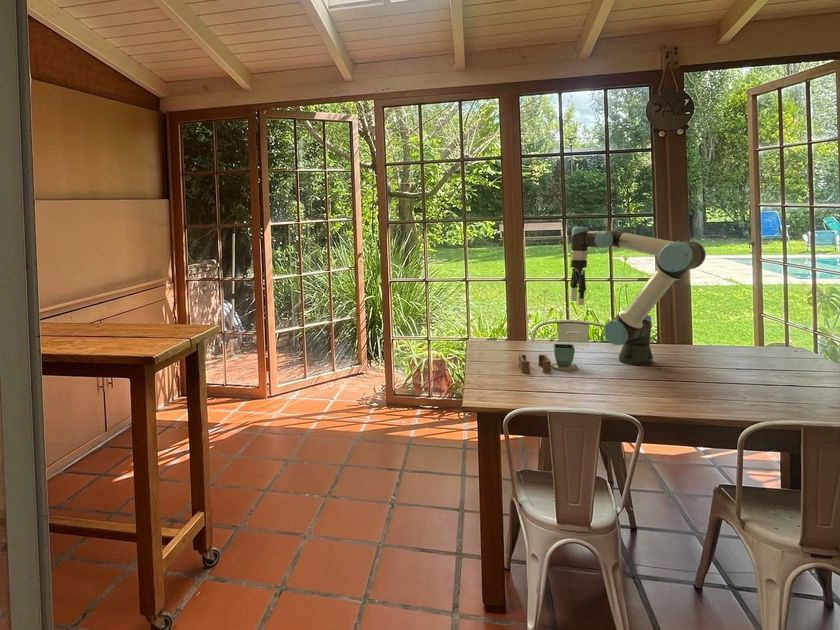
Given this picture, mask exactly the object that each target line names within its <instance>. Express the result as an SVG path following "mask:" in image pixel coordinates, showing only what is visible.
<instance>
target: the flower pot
mask: <svg viewBox="0 0 840 630" xmlns="http://www.w3.org/2000/svg"><path fill="white" fill-rule="evenodd" d="M575 351H576V349H575V346H574V344H572V343H571V344H570V343H567V344H565V343H553V354H554V358H555V363H557V364H558V366H570V365H571V364H573V361H574V357H575Z"/></svg>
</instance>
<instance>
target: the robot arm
mask: <svg viewBox="0 0 840 630" xmlns="http://www.w3.org/2000/svg"><path fill="white" fill-rule="evenodd" d="M610 247H611V248H612V247H613V248H617V249H622V250H627V251H632V252H637V253H642V254H646V255H651V256H655V257H658V260H657V262H656V263H655V267H656V269H655V270H654V272H653V273H652V274H651V276H650V277H649V278H648V280H647V281H646V283H644V285H643V286H642V288H641V289H640V290H639V291H638V293H637V294H636V295H635V297H634V298H633V299H632V301H631V302H630V303H629V304H628V306H627V307H626V308H625V309H623V310H620V311H619V312H618V313H617V315H616V316H615V317H614V318H613V319H610V320H609V321H607V322H606V323H605V325H604V327H603V333H604V336H605V339H606V340H607V342H609V343H610V344H612V345H615V346H621V347H622V348H621V350H620V351H619V354H618V361H619V362H621V363H623V364H627V365H628V364H629V365H638V366H647V364H648V365H651V363H652V364H653V363H654V355H653V352H652V349H651V337H652V335H651V334H652V323H653V322H652V316H651V315H650V314H649V313H650V312H651V311H652V310H653V309H654V307H655V306H656V305H657V303H658V302H660V301H659V300H660V299H662V297H663V296H664V295H665V293H666V292H668V289H669V288H670V287H671V286H672V284H673V283H674V282H675V281H679V280H681V279H683V277H684V275H686V273H687V272H688V271H689V270H695V269H697V268H698V267H700V266H701V265H702V264H703V263H704V262H705V260H706V256H707V254H706V249H705V248H704V246H703V244H701V243H699V242H696V241H692V240H691V241H690V240H689V241H687V240H686V241H684V240H681V239H680V240H679V239H678V240H677V241H672V240H667V239H663V238H662V239H661V238H657V237H651V236H645V235H641V234H636V233H631V232H630V233H629V232H624V231H622V230H615V229H614V230H599V231H598V230H595V231H594V230H593V231H592V230H591V231H589V227H587V226H574V227H572V229H571V247H570V248H571V249H570V252H569V255H570V259H571V260H570V268H572V269H571V270H572V273H571V277H570V278H571V279H570V284H569V286H570V288H571V291H570V293H571V294H570V301H571V302H577V306H585V291H587V285H586V270H584V269H585V268H587V267H588V266H587V265H588V260H587V259H588V249H589V248H597V249H599V248H600V249H604V248H606V249H607V248H610Z"/></svg>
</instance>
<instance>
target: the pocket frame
mask: <svg viewBox="0 0 840 630" xmlns="http://www.w3.org/2000/svg"><path fill="white" fill-rule="evenodd" d="M530 362H531V361H530V360H527V354H518V367H519V369H520V371H521V373H528V374H529V373H530V371H531V369H530V368H531V366H530V364H531V363H530ZM551 364H552V361H551V359H550V358H549V356H548V355H547V354H538V367H542V373H543V374H544V373H545V374H547V373H551V371H552V370H551V369H552V368H551Z"/></svg>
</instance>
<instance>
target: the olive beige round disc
mask: <svg viewBox="0 0 840 630" xmlns="http://www.w3.org/2000/svg"><path fill="white" fill-rule="evenodd" d="M578 366H579V365H577V364H575V363H571V365H570V366H558V364H557V362H554V363H551V369H552V370H554V371H560V372H575V371H577V370H579V367H578Z"/></svg>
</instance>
